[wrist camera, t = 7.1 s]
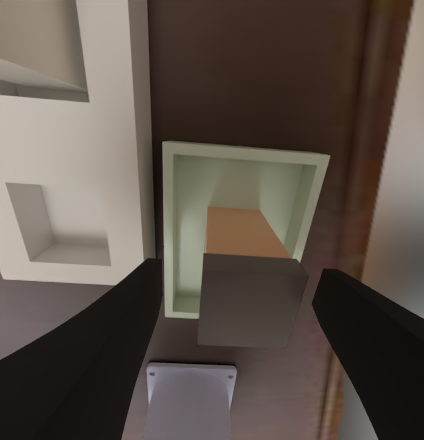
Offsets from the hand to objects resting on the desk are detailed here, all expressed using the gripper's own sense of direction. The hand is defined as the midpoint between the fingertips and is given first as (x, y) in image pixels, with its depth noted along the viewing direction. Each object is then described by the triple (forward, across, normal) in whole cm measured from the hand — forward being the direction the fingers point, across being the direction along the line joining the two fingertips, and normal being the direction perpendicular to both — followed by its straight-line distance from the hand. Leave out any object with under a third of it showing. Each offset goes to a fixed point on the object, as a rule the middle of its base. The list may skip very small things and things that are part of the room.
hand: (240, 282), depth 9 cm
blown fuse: (+4, 0, 0) cm, 4 cm away
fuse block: (+5, +9, -5) cm, 11 cm away
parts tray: (+5, 0, 0) cm, 5 cm away
